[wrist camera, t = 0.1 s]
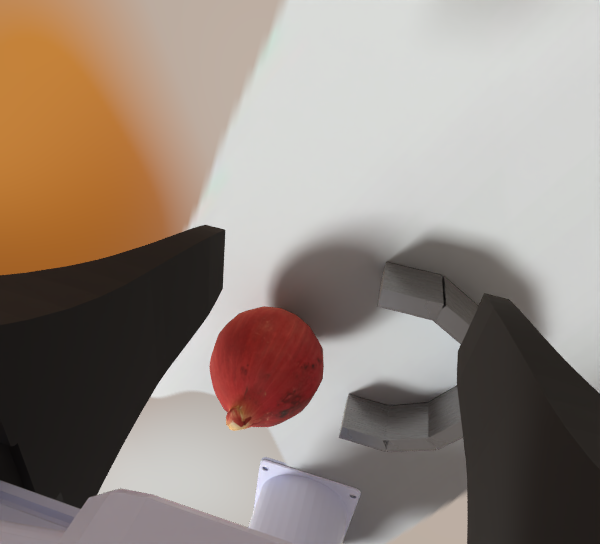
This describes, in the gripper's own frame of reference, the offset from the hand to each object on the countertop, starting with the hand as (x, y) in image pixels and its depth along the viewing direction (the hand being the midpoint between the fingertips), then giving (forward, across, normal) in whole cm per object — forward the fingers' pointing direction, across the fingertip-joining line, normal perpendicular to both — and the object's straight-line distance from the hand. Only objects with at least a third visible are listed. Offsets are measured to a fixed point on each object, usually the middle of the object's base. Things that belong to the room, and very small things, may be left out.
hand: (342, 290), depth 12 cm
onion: (+10, +3, +10) cm, 14 cm away
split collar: (+10, -3, +10) cm, 14 cm away
